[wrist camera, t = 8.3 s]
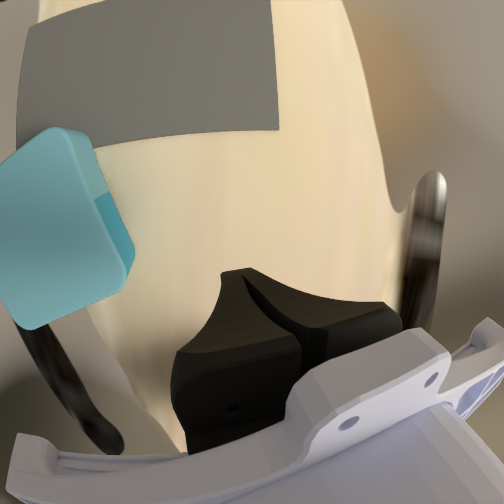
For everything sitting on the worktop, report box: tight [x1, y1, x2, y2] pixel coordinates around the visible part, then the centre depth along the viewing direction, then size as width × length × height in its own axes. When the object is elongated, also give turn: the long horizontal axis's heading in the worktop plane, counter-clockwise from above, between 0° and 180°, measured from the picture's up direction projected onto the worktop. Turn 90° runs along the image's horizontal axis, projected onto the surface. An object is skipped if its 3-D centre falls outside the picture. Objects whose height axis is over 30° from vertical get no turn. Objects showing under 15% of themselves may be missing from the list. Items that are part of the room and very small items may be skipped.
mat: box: [16, 0, 279, 150], centre depth 15 cm, size 14×22×1 cm, turn 92°
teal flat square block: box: [0, 127, 135, 330], centre depth 16 cm, size 12×4×12 cm
